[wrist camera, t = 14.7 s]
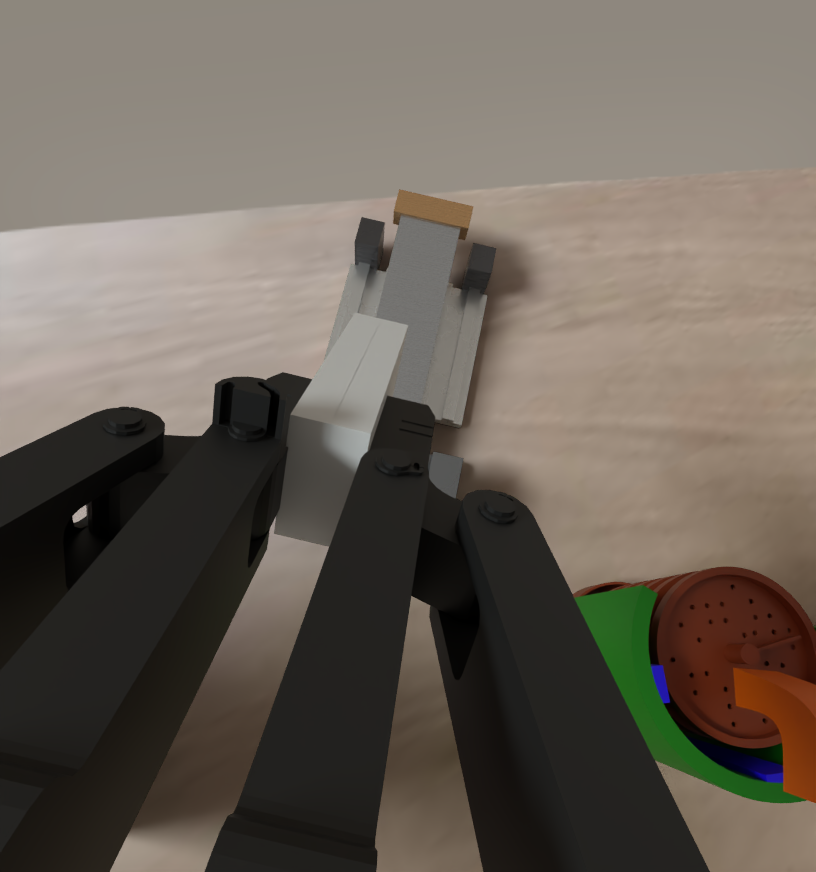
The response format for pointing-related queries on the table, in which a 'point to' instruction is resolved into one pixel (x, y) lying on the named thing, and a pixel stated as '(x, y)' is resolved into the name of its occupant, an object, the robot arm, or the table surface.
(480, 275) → the bracket
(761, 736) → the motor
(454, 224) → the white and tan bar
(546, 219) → the table surface
